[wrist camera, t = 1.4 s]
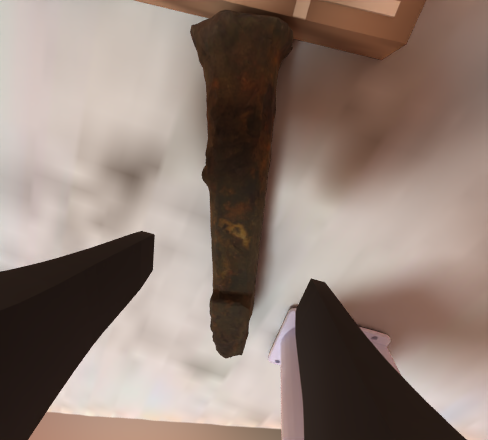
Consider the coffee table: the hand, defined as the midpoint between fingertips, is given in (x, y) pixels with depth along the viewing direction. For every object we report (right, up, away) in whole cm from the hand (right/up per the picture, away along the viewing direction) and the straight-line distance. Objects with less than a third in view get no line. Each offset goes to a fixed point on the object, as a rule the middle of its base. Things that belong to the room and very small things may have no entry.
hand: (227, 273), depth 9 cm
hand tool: (+1, +3, +8) cm, 8 cm away
